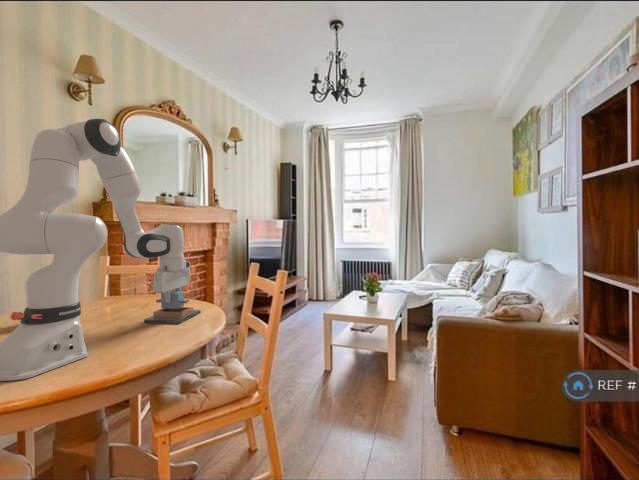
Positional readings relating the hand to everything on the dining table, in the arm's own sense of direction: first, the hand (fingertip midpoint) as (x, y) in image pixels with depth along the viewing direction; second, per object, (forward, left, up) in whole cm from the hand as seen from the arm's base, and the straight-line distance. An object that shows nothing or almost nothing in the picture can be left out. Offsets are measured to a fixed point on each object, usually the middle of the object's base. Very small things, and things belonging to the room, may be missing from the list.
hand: (172, 300), depth 132 cm
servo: (0, 0, -3) cm, 3 cm away
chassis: (0, 0, -7) cm, 7 cm away
